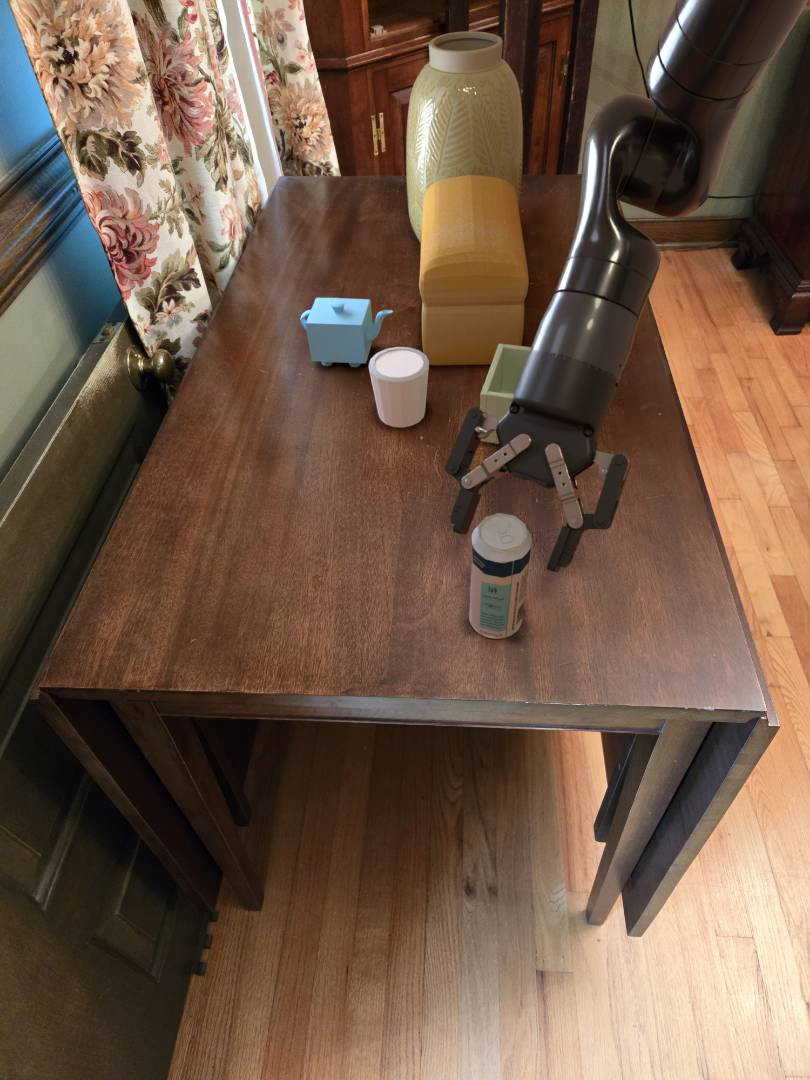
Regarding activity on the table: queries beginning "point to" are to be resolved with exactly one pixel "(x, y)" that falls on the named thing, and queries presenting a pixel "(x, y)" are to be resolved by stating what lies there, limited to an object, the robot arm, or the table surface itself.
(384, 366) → the white cup
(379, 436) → the table surface
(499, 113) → the vase
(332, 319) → the teapot
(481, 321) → the bread
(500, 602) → the beer can
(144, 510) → the table surface
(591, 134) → the robot arm
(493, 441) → the bin
